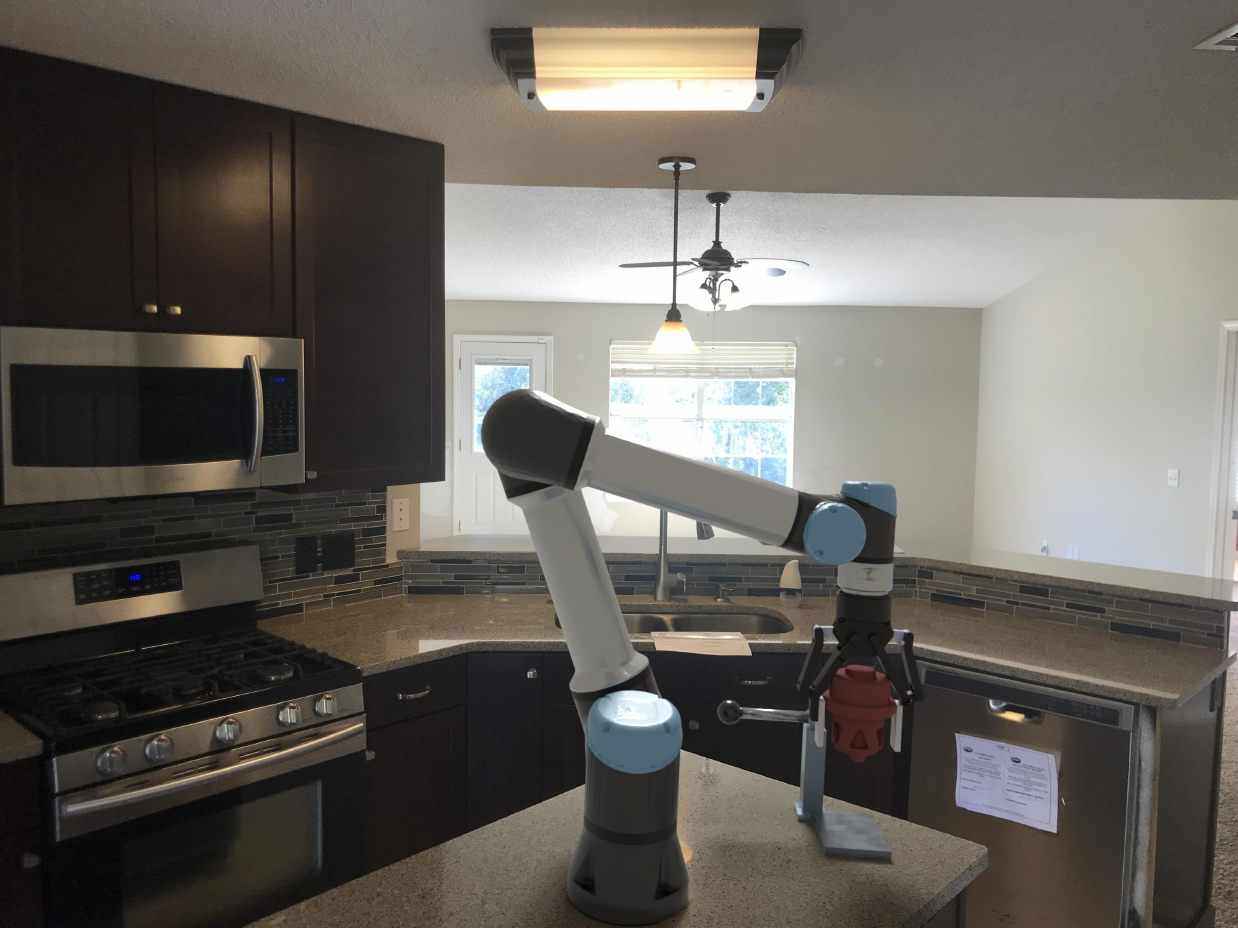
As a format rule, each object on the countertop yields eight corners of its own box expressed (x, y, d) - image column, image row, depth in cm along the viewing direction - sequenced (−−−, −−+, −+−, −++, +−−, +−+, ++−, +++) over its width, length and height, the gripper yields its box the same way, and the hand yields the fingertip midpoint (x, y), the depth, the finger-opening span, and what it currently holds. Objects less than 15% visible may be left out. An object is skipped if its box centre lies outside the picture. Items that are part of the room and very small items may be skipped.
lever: (717, 726, 127) (718, 703, 127) (716, 718, 131) (717, 696, 131) (824, 733, 126) (826, 710, 126) (820, 725, 130) (821, 702, 130)
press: (808, 853, 116) (813, 757, 116) (793, 807, 131) (798, 721, 130) (891, 860, 115) (896, 763, 115) (867, 812, 130) (871, 726, 130)
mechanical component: (889, 745, 124) (897, 771, 114) (819, 738, 126) (821, 763, 116) (893, 662, 123) (902, 681, 113) (823, 656, 125) (825, 674, 115)
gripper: (787, 591, 116) (779, 750, 117) (954, 599, 114) (946, 760, 115) (780, 581, 123) (773, 731, 124) (937, 589, 122) (930, 741, 123)
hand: (856, 745), depth 120 cm, fingers closed on mechanical component, 10 cm apart
